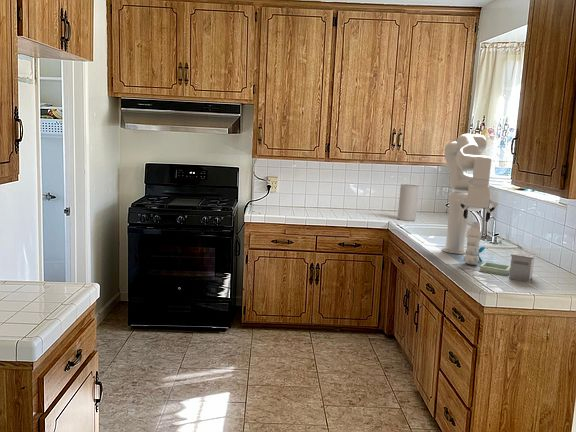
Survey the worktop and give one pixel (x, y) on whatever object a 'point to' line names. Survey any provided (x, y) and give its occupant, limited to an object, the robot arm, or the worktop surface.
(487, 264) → the tray
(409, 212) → the cylinder vase
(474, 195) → the robot arm
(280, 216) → the worktop surface
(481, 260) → the gear
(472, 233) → the plastic bottle
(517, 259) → the grey box
